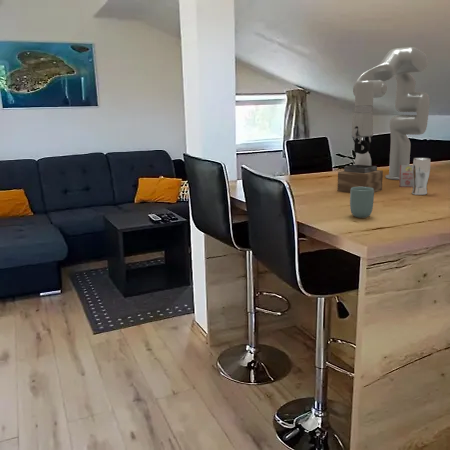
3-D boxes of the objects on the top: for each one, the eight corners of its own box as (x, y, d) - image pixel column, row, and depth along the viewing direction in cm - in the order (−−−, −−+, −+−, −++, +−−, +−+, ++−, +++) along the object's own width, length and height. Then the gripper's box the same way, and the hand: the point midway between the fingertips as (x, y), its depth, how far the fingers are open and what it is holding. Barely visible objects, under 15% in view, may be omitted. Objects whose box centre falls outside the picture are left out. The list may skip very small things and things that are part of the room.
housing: (354, 186, 226) (355, 163, 224) (381, 190, 216) (383, 166, 213) (337, 190, 217) (338, 167, 214) (364, 194, 207) (365, 169, 204)
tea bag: (399, 185, 226) (400, 164, 223) (414, 186, 223) (416, 164, 221) (399, 187, 222) (400, 165, 220) (414, 187, 220) (416, 165, 218)
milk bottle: (371, 186, 226) (373, 143, 221) (354, 186, 227) (355, 143, 222) (369, 183, 233) (371, 142, 228) (353, 183, 235) (354, 142, 230)
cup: (346, 214, 172) (347, 187, 170) (367, 213, 173) (368, 186, 170) (354, 219, 165) (355, 191, 162) (376, 218, 165) (377, 190, 163)
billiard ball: (354, 154, 211) (354, 140, 209) (355, 153, 216) (356, 139, 215) (368, 154, 209) (369, 140, 207) (369, 153, 214) (370, 139, 213)
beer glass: (427, 192, 207) (430, 157, 204) (428, 195, 201) (431, 159, 197) (410, 192, 209) (412, 157, 206) (410, 195, 203) (413, 159, 199)
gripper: (366, 109, 216) (365, 149, 221) (344, 111, 205) (343, 153, 209) (382, 109, 211) (380, 150, 215) (360, 110, 199) (358, 154, 204)
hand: (362, 151), depth 212 cm, fingers closed on billiard ball, 6 cm apart
